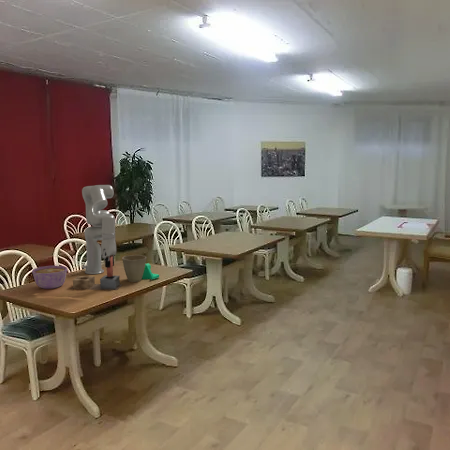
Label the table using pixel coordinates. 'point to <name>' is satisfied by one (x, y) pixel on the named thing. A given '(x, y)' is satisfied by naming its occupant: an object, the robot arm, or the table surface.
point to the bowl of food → (50, 276)
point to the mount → (84, 282)
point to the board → (97, 287)
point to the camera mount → (149, 273)
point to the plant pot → (134, 267)
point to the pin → (110, 270)
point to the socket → (109, 282)
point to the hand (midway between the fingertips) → (109, 266)
